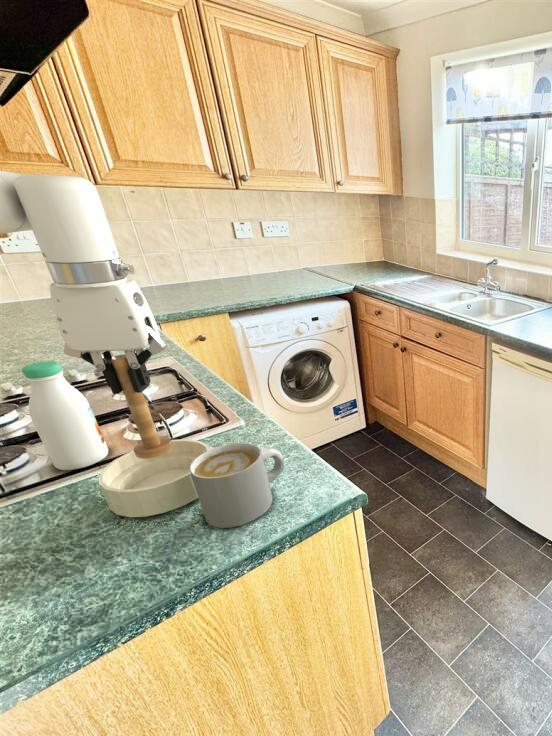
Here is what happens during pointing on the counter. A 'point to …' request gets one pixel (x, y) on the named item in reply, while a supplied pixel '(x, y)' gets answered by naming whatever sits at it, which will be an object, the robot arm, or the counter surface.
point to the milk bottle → (63, 418)
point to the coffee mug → (234, 483)
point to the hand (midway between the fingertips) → (131, 388)
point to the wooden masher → (140, 415)
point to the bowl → (151, 480)
